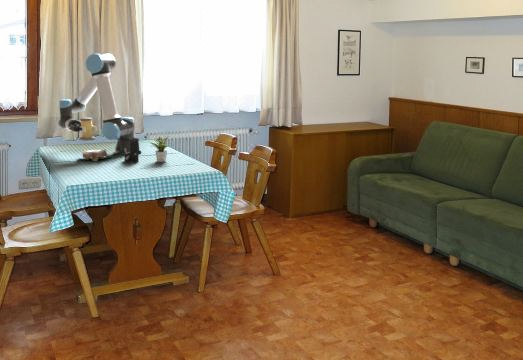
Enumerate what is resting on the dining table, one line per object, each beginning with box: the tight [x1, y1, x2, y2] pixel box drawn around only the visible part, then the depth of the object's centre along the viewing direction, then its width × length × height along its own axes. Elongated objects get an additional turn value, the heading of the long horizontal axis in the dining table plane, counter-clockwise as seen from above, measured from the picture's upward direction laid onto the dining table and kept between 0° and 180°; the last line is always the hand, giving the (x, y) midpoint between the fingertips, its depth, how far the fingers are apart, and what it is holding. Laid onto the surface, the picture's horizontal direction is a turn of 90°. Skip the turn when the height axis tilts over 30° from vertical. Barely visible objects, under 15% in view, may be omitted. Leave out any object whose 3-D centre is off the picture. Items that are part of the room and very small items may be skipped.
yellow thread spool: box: [79, 117, 96, 141], centre depth 393 cm, size 9×9×13 cm
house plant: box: [147, 135, 171, 163], centre depth 389 cm, size 14×14×16 cm
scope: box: [123, 137, 142, 164], centre depth 387 cm, size 8×14×10 cm
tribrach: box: [81, 149, 108, 162], centre depth 395 cm, size 14×14×5 cm
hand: (90, 128), depth 389 cm, fingers closed on yellow thread spool, 7 cm apart
